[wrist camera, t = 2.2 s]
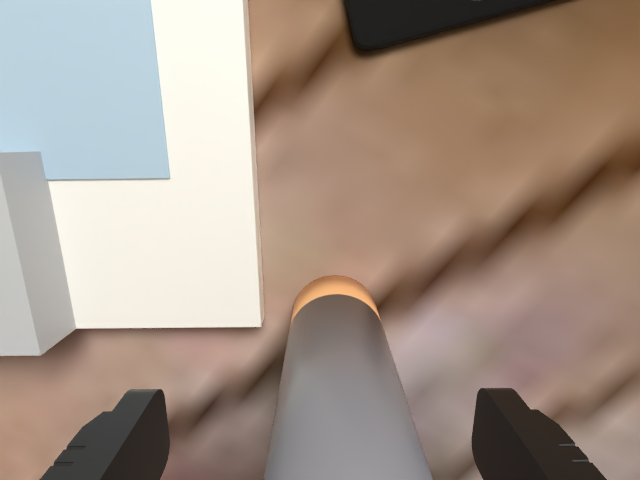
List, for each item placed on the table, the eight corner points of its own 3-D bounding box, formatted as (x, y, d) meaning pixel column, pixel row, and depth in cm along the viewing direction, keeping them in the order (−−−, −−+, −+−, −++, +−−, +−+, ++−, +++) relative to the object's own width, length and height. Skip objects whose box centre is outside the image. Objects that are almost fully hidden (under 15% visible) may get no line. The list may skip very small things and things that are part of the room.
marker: (377, 275, 16) (534, 649, 4) (375, 352, 17) (499, 838, 5) (291, 275, 16) (205, 650, 4) (293, 352, 17) (229, 837, 5)
